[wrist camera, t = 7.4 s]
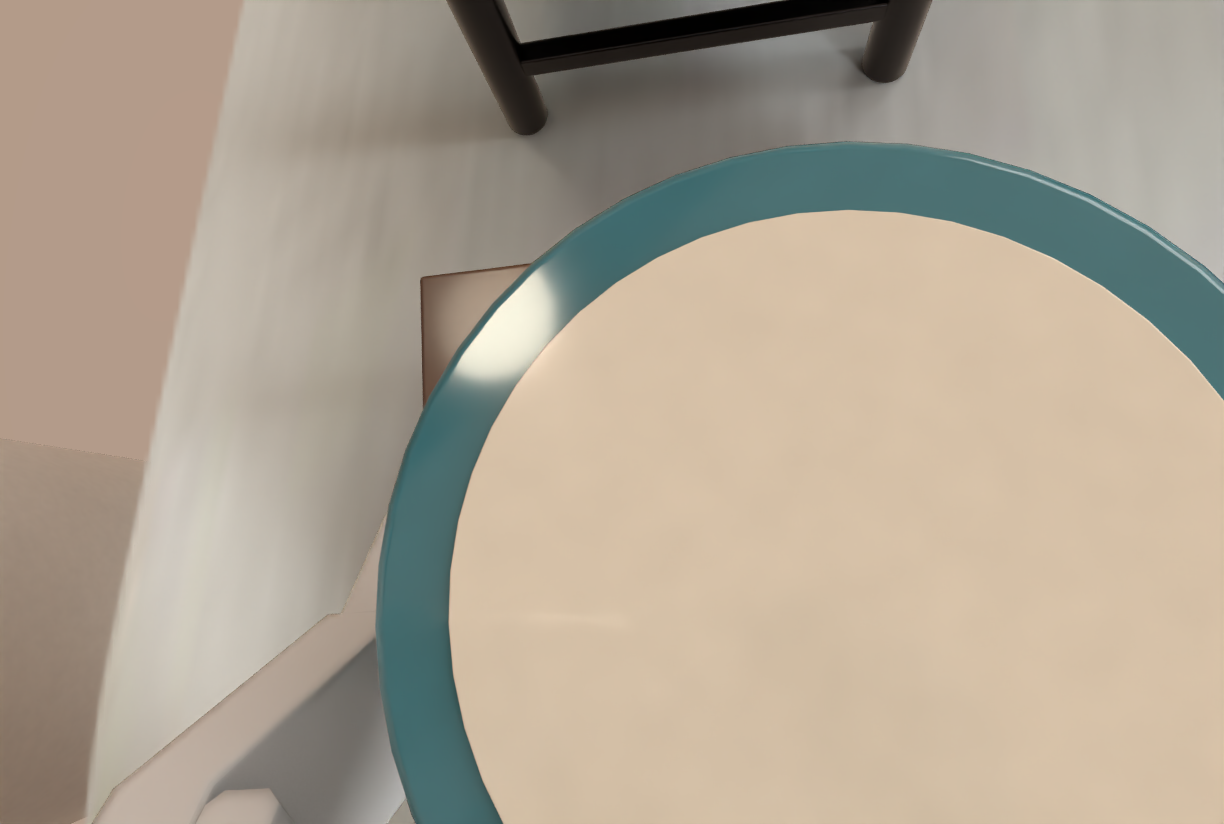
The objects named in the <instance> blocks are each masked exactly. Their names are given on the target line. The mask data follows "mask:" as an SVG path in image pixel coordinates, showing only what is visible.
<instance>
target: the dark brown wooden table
mask: <svg viewBox="0 0 1224 824" xmlns="http://www.w3.org/2000/svg"><path fill="white" fill-rule="evenodd" d="M446 1H447V3H448V5H449V7H450V9H451V11H452V13H453V15H454V17H455V19H456V21H457V23H458V25H459V27H460V29H461V31H462V33H463V35H464V37H465V39H466V41H467V43H468V45H469V47H470V49H471V51H472V53H473V55H474V57H475V59H476V61H477V63H478V65H479V67H480V69H481V71H482V73H483V75H484V77H485V79H486V81H487V83H488V85H489V87H490V89H491V91H492V93H493V95H494V97H495V99H496V101H497V103H498V105H499V107H500V109H501V111H502V112H503V114H504V116H505V118H506V120H507V122H508V124H509V126H510V128H511V129H512V130H513V131H514V132H516V133H518V134H520V135H532V134H535V133H537V132H538V131H540V130H541V129H542V128H543V126H544V125H545V123H546V121H547V117H548V111H547V108H546V105H545V102H544V100H543V97H542V95H541V92H540V90H539V87H538V85H537V82H536V80H535V77H534V75H539V74H545V73H551V72H558V71H564V70H571V69H577V68H583V67H590V66H596V65H602V64H609V63H615V62H621V61H628V60H634V59H640V58H647V57H653V56H659V55H666V54H672V53H678V52H685V51H691V50H698V49H704V48H710V47H717V46H723V45H729V44H736V43H742V42H748V41H755V40H761V39H767V38H774V37H780V36H786V35H793V34H799V33H805V32H812V31H818V30H825V29H831V28H837V27H844V26H850V25H856V24H863V23H869V22H873V24H872V27H871V31H870V34H869V38H868V41H867V45H866V48H865V52H864V55H863V59H862V67H863V70H864V72H865V74H866V75H867V76H868V77H869V78H870V79H871V80H873V81H875V82H879V83H888V82H892V81H894V80H896V79H898V78H899V77H901V76H902V75H903V74H904V72H905V71H906V69H907V66H908V63H909V61H910V58H911V55H912V53H913V50H914V48H915V45H916V42H917V40H918V37H919V34H920V32H921V29H922V27H923V24H924V21H925V19H926V16H927V13H928V11H929V8H930V5H931V3H932V0H782V1H776V2H770V3H764V4H758V5H752V6H746V7H740V8H733V9H727V10H721V11H715V12H709V13H703V14H697V15H691V16H684V17H678V18H672V19H666V20H660V21H654V22H648V23H642V24H636V25H629V26H623V27H617V28H611V29H605V30H599V31H593V32H587V33H581V34H574V35H568V36H562V37H556V38H550V39H544V40H538V41H532V42H526V43H521V42H520V40H519V37H518V35H517V32H516V30H515V27H514V25H513V22H512V20H511V17H510V15H509V12H508V10H507V7H506V5H505V2H504V0H446Z"/></svg>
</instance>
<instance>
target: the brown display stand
mask: <svg viewBox="0 0 1224 824" xmlns="http://www.w3.org/2000/svg"><path fill="white" fill-rule="evenodd" d="M531 264H532V263H531ZM531 264H523V265H514V266H506V267H498V268H490V269H482V270H474V271H466V272H458V273H450V274H442V275H434V276H426V277H422V278H421V280H420V286H421V332H422V379H423V409H424V407H425V404H426V402H427V400H428V398H429V396H430V394H431V392H432V391H433V389H434V387H435V386H436V384H437V382H438V381H439V379H440V377H441V376H442V374H443V372H444V371H445V369H446V367H447V365H448V364H449V362H450V360H451V359H452V357H453V355H454V354H455V352H456V350H457V349H458V347H459V346H460V345H461V343H462V342H463V341H464V339H465V338H466V337H467V336H468V334H469V333H470V332H471V330H472V329H473V328H474V326H475V325H476V324H477V323H478V321H479V320H480V319H481V317H482V316H483V315H484V313H485V312H486V311H487V310H488V308H489V307H490V306H491V304H492V303H493V302H494V301H495V300H496V299H497V298H498V297H499V296H500V295H501V294H502V293H503V292H504V291H505V290H506V289H507V288H508V287H509V286H510V285H511V284H512V283H513V282H514V281H515V280H516V279H517V278H518V277H519V276H520V275H521V274H522V273H523V272H524V271H525V270H526V269H527V268H528V267H529V266H530V265H531Z"/></svg>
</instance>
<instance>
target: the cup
mask: <svg viewBox="0 0 1224 824" xmlns="http://www.w3.org/2000/svg"><path fill="white" fill-rule="evenodd" d="M375 631H376V646H377V660H378V675H379V689H380V694H381V699H382V705H383V710H384V715H385V720H386V726H387V731H388V736H389V741H390V747H391V752H392V755H393V758H394V761H395V764H396V767H397V771H398V774H399V777H400V780H401V783H402V786H403V789H404V793H405V796H406V799H407V802H408V805H409V808H410V811H411V814H412V817H413V819H414V821H415V823H416V824H1224V283H1223V282H1222V281H1221V280H1219V279H1218V278H1217V277H1216V276H1215V275H1214V274H1213V273H1212V272H1211V271H1209V270H1208V269H1207V268H1206V267H1205V266H1204V265H1202V264H1201V263H1200V262H1198V261H1197V260H1195V259H1194V258H1193V257H1191V256H1190V255H1188V254H1187V253H1186V252H1184V251H1183V250H1181V249H1180V248H1178V247H1177V246H1176V245H1174V244H1173V243H1171V242H1170V241H1169V240H1167V239H1166V238H1164V237H1163V236H1162V235H1160V234H1159V233H1157V232H1156V231H1155V230H1153V229H1152V228H1150V227H1149V226H1147V225H1145V224H1143V223H1142V222H1140V221H1138V220H1136V219H1134V218H1132V217H1131V216H1129V215H1127V214H1125V213H1123V212H1121V211H1120V210H1118V209H1116V208H1114V207H1112V206H1111V205H1109V204H1107V203H1105V202H1103V201H1101V200H1100V199H1098V198H1096V197H1094V196H1092V195H1090V194H1088V193H1085V192H1083V191H1080V190H1078V189H1076V188H1073V187H1071V186H1068V185H1066V184H1063V183H1061V182H1058V181H1056V180H1053V179H1051V178H1048V177H1046V176H1043V175H1041V174H1038V173H1036V172H1034V171H1031V170H1028V169H1024V168H1021V167H1017V166H1013V165H1010V164H1006V163H1002V162H999V161H995V160H992V159H988V158H984V157H981V156H977V155H973V154H970V153H964V152H958V151H951V150H945V149H938V148H932V147H925V146H919V145H912V144H901V143H874V142H847V141H846V142H834V143H821V144H808V145H796V146H786V147H781V148H775V149H770V150H765V151H760V152H755V153H750V154H745V155H740V156H735V157H730V158H727V159H724V160H721V161H718V162H715V163H712V164H708V165H705V166H702V167H699V168H696V169H693V170H690V171H687V172H684V173H681V174H678V175H675V176H673V177H670V178H668V179H666V180H664V181H662V182H660V183H657V184H655V185H653V186H651V187H649V188H647V189H644V190H642V191H640V192H638V193H636V194H634V195H631V196H629V197H627V198H625V199H623V200H621V201H620V202H618V203H616V204H615V205H613V206H611V207H610V208H608V209H607V210H605V211H603V212H602V213H600V214H599V215H597V216H595V217H594V218H592V219H590V220H589V221H587V222H586V223H584V224H582V225H581V226H579V227H577V228H576V229H574V230H573V231H572V232H571V233H569V234H568V235H567V236H566V237H564V238H563V239H562V240H561V241H559V242H558V243H557V244H556V245H554V246H553V247H552V248H551V249H549V250H548V251H547V252H546V253H544V254H543V255H542V256H541V257H539V258H538V259H537V260H535V261H534V262H533V263H532V264H531V265H530V266H529V267H528V268H527V269H526V270H525V271H524V272H523V273H522V274H521V275H520V276H519V277H518V278H517V279H516V280H515V281H514V282H513V283H512V284H511V285H510V286H509V287H508V288H507V289H506V290H505V291H504V292H503V293H502V294H501V295H500V296H499V297H498V298H497V299H496V300H495V301H494V302H493V303H492V304H491V306H490V307H489V308H488V310H487V311H486V312H485V313H484V315H483V316H482V317H481V319H480V320H479V321H478V323H477V324H476V325H475V326H474V328H473V329H472V330H471V332H470V333H469V334H468V336H467V337H466V338H465V339H464V341H463V342H462V343H461V345H460V346H459V347H458V349H457V350H456V352H455V354H454V355H453V357H452V359H451V360H450V362H449V364H448V365H447V367H446V369H445V371H444V372H443V374H442V376H441V377H440V379H439V381H438V382H437V384H436V386H435V387H434V389H433V391H432V392H431V394H430V396H429V398H428V400H427V402H426V404H425V407H424V409H423V411H422V413H421V416H420V418H419V420H418V423H417V425H416V427H415V429H414V432H413V434H412V436H411V439H410V441H409V443H408V445H407V448H406V450H405V453H404V456H403V460H402V463H401V466H400V470H399V473H398V476H397V480H396V483H395V486H394V490H393V493H392V496H391V500H390V503H389V506H388V512H387V518H386V523H385V529H384V535H383V541H382V547H381V552H380V558H379V564H378V580H377V600H376V619H375Z"/></svg>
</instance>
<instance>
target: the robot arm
mask: <svg viewBox="0 0 1224 824" xmlns="http://www.w3.org/2000/svg"><path fill="white" fill-rule="evenodd" d="M387 512H388V511H387ZM386 518H387V513H386V515H385V517H384V519H383V521H382V524H381V526H380V528H379V530H378V533H377V535H376V537H375V539H374V541H373V544H372V546H371V548H370V550H369V553H368V555H367V557H366V559H365V561H364V564H363V566H362V568H361V570H360V573H359V575H358V577H357V579H356V582H355V584H354V586H353V588H352V590H351V593H350V595H349V597H348V599H347V602H346V604H345V606H344V608H343V610H342V613H341V614H328V615H327V616H325V617H324V618H323V619H322V620H320V621H319V622H318V623H317V624H315V625H314V626H313V627H312V628H311V629H309V630H308V631H307V632H306V633H304V634H303V635H302V636H301V637H299V638H298V639H297V640H296V641H295V642H293V643H292V644H291V645H290V646H288V647H287V648H286V649H285V650H283V651H282V652H281V653H280V654H279V655H277V656H276V657H275V658H274V659H272V660H271V661H270V662H269V663H267V664H266V665H265V666H264V667H263V668H261V669H260V670H259V671H258V672H256V673H255V674H254V675H253V676H251V677H250V678H249V679H248V680H247V681H245V682H244V683H243V684H242V685H240V686H239V687H238V688H237V689H235V690H234V691H233V692H232V693H231V694H229V695H228V696H227V697H226V698H224V699H223V700H222V701H221V702H219V703H218V704H217V705H216V706H215V707H213V708H212V709H211V710H210V711H208V712H207V713H206V714H205V715H204V716H202V717H201V718H200V719H199V720H197V721H196V722H195V723H194V724H192V725H191V726H190V727H189V728H188V729H186V730H185V731H184V732H183V733H181V734H180V735H179V736H178V737H176V738H175V739H174V740H173V741H172V742H170V743H169V744H168V745H167V746H165V747H164V748H163V749H162V750H160V751H159V752H158V753H157V754H156V755H154V756H153V757H152V758H151V759H149V760H148V761H147V762H146V763H144V764H143V765H142V766H141V767H140V768H138V769H137V770H136V771H135V772H133V773H132V774H131V775H130V776H128V777H127V778H126V779H125V780H124V781H122V782H121V783H120V784H119V785H117V786H116V787H115V788H114V789H113V790H112V792H111V793H110V795H109V796H108V798H107V800H106V801H105V803H104V805H103V806H102V808H101V809H100V811H99V813H98V814H97V816H96V817H95V819H94V821H93V822H92V824H387V823H388V821H389V820H390V819H391V817H392V816H393V815H394V814H395V812H396V811H397V810H398V808H399V807H400V806H401V804H402V803H403V802H404V800H405V799H406V796H405V793H404V789H403V786H402V783H401V780H400V777H399V774H398V771H397V767H396V764H395V761H394V758H393V755H392V752H391V747H390V741H389V736H388V731H387V726H386V720H385V715H384V710H383V705H382V699H381V694H380V689H379V675H378V660H377V646H376V631H375V619H376V600H377V580H378V564H379V558H380V552H381V547H382V541H383V535H384V529H385V523H386Z"/></svg>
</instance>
